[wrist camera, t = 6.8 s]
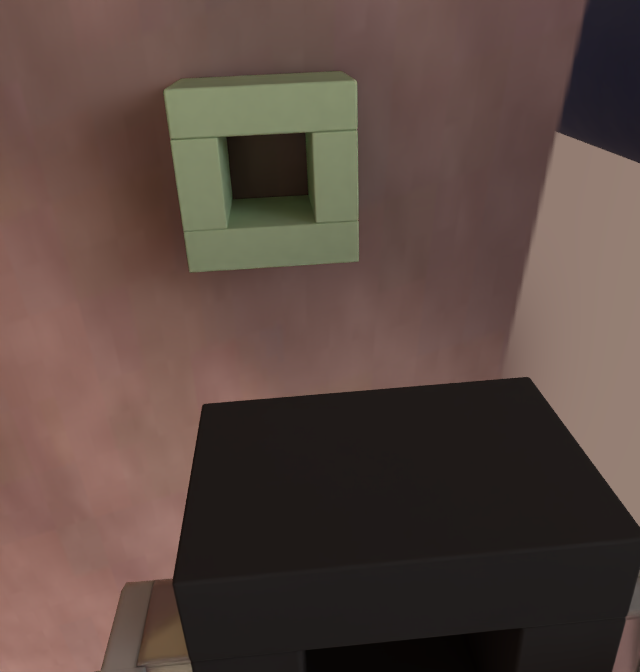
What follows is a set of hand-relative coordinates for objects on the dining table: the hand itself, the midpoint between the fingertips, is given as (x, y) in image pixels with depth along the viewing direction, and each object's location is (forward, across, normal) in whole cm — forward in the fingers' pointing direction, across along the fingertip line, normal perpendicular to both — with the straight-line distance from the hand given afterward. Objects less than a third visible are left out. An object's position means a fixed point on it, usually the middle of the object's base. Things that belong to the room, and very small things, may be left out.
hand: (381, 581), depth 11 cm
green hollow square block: (+17, +2, -4) cm, 17 cm away
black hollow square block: (+2, 0, 0) cm, 2 cm away
